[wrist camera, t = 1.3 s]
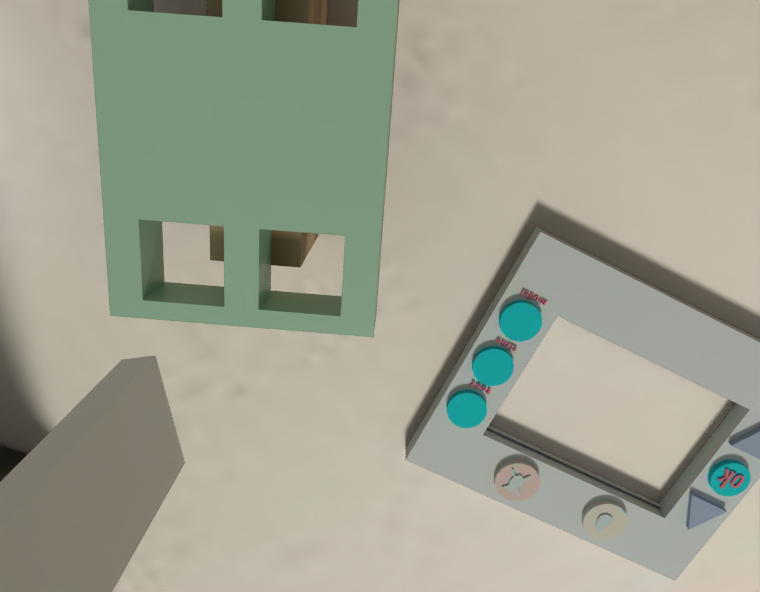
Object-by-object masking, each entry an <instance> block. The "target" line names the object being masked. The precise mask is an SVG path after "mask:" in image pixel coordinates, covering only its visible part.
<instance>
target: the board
mask: <svg viewBox="0 0 760 592" xmlns="http://www.w3.org/2000/svg"><path fill="white" fill-rule="evenodd" d="M88 1H89V15H90V30H91V44H92V59H93V73H94V88H95V102H96V117H97V131H98V146H99V160H100V175H101V189H102V204H103V218H104V233H105V247H106V262H107V276H108V291H109V305H110V316H120V317H132V318H144V319H157V320H169V321H181V322H193V323H206V324H218V325H230V326H242V327H254V328H267V329H279V330H291V331H303V332H316V333H328V334H340V335H352V336H364V337H373V336H374V328H375V321H376V311H377V298H378V284H379V271H380V257H381V244H382V230H383V217H384V203H385V190H386V176H387V163H388V150H389V136H390V123H391V109H392V96H393V82H394V69H395V55H396V42H397V29H398V15H399V2H400V0H358V12H357V27H346V26H333V25H320V24H306V23H293V22H279V21H275V4H276V0H222V17H212V16H199V15H185V14H172V13H159V12H154V6H153V0H88ZM162 221H166V222H178V223H191V224H203V225H216V226H224V287H219V286H206V285H194V284H182V283H169V282H164V261H163V236H162ZM272 230H279V231H292V232H304V233H317V234H329V235H342V236H345V247H344V265H343V283H342V296H330V295H318V294H305V293H293V292H281V291H271V237H272Z"/></svg>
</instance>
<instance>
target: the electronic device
mask: <svg viewBox="0 0 760 592" xmlns="http://www.w3.org/2000/svg"><path fill="white" fill-rule="evenodd" d="M557 316H559V317H561V318H563V319H565V320H567V321H570V322H572V323H574V324H576V325H578V326H580V327H582V328H584V329H586V330H588V331H590V332H592V333H594V334H596V335H598V336H600V337H602V338H604V339H606V340H608V341H610V342H612V343H614V344H617V345H619V346H621V347H623V348H625V349H627V350H629V351H631V352H633V353H635V354H637V355H639V356H641V357H643V358H645V359H647V360H649V361H651V362H653V363H655V364H657V365H659V366H661V367H664V368H666V369H668V370H670V371H672V372H674V373H676V374H678V375H680V376H682V377H684V378H686V379H688V380H690V381H692V382H694V383H696V384H698V385H700V386H702V387H704V388H706V389H709V390H711V391H713V392H715V393H717V394H719V395H721V396H723V397H725V398H727V399H729V400H731V401H733V402H735V403H736V404H735V405H734V407H733V408H732V409H731V411H730V412H729V413H728V414H727V416H726V417H725V418H724V420H723V421H722V422H721V424H720V425H719V426H718V428H717V429H716V430H715V431H714V433H713V434H712V435H711V437H710V438H709V439H708V441H707V442H706V443H705V444H704V446H703V447H702V448H701V450H700V451H699V452H698V454H697V455H696V456H695V458H694V459H693V460H692V461H691V463H690V464H689V465H688V467H687V468H686V469H685V471H684V472H683V473H682V474H681V476H680V477H679V478H678V480H677V481H676V482H675V484H674V485H673V486H672V487H671V489H670V490H669V491H668V493H667V494H666V495H665V497H664V498H663V499H662V501H661V502H660V503H657V502H655V501H653V500H650V499H648V498H646V497H644V496H642V495H640V494H638V493H635V492H633V491H631V490H629V489H627V488H625V487H622V486H620V485H618V484H616V483H614V482H612V481H609V480H607V479H605V478H603V477H601V476H599V475H596V474H594V473H592V472H590V471H588V470H586V469H583V468H581V467H579V466H577V465H575V464H573V463H571V462H568V461H566V460H564V459H562V458H560V457H558V456H555V455H553V454H551V453H549V452H547V451H545V450H542V449H540V448H538V447H536V446H534V445H532V444H529V443H527V442H525V441H523V440H521V439H519V438H516V437H514V436H512V435H510V434H508V433H506V432H503V431H501V430H499V429H497V428H495V427H493V426H491V425H489V424H490V423H491V421H492V419H493V418H494V416H495V415H496V413H497V411H498V410H499V408H500V407H501V405H502V404H503V402H504V400H505V399H506V397H507V396H508V394H509V392H510V391H511V389H512V388H513V386H514V384H515V383H516V381H517V380H518V378H519V377H520V375H521V373H522V372H523V370H524V369H525V367H526V365H527V364H528V362H529V361H530V359H531V358H532V356H533V354H534V353H535V351H536V350H537V348H538V346H539V345H540V343H541V342H542V340H543V338H544V337H545V335H546V334H547V332H548V331H549V329H550V327H551V326H552V324H553V323H554V321H555V319H556V318H557ZM406 460H407V461H409V462H412V463H414V464H416V465H418V466H420V467H423V468H425V469H427V470H429V471H432V472H434V473H436V474H438V475H441V476H443V477H445V478H447V479H450V480H452V481H454V482H456V483H458V484H461V485H463V486H465V487H467V488H470V489H472V490H474V491H476V492H479V493H481V494H483V495H485V496H487V497H490V498H492V499H494V500H496V501H499V502H501V503H503V504H505V505H508V506H510V507H512V508H514V509H517V510H519V511H521V512H523V513H525V514H528V515H530V516H532V517H534V518H537V519H539V520H541V521H543V522H546V523H548V524H550V525H552V526H554V527H557V528H559V529H561V530H563V531H566V532H568V533H570V534H572V535H575V536H577V537H579V538H581V539H584V540H586V541H588V542H590V543H592V544H595V545H597V546H599V547H601V548H604V549H606V550H608V551H610V552H613V553H615V554H617V555H619V556H621V557H624V558H626V559H628V560H630V561H633V562H635V563H637V564H639V565H642V566H644V567H646V568H648V569H651V570H653V571H655V572H657V573H659V574H662V575H664V576H666V577H668V578H671V579H673V580H676V579H677V578H678V577H679V575H680V574H681V573H682V572H683V570H684V569H685V568H686V567H687V566H688V564H689V563H690V562H691V561H692V560H693V558H694V557H695V556H696V555H697V553H698V552H699V551H700V550H701V549H702V547H703V546H704V545H705V544H706V543H707V541H708V540H709V539H710V538H711V537H712V535H713V534H714V533H715V532H716V530H717V529H718V528H719V527H720V526H721V524H722V523H723V522H724V521H725V520H726V518H727V517H728V516H729V515H730V513H731V512H732V511H733V510H734V509H735V507H736V506H737V505H738V504H739V503H740V501H741V500H742V499H743V498H744V496H745V495H746V494H747V493H748V492H749V490H750V489H751V488H752V487H753V486H754V484H755V483H756V482H757V481H758V479H759V478H760V339H758V338H756V337H754V336H752V335H750V334H748V333H746V332H744V331H742V330H740V329H738V328H736V327H734V326H732V325H730V324H728V323H726V322H724V321H722V320H720V319H718V318H716V317H714V316H712V315H710V314H708V313H706V312H704V311H702V310H700V309H698V308H696V307H695V306H693V305H691V304H689V303H687V302H685V301H683V300H681V299H679V298H677V297H675V296H673V295H671V294H669V293H667V292H665V291H663V290H661V289H659V288H657V287H655V286H653V285H651V284H649V283H647V282H645V281H643V280H641V279H639V278H637V277H635V276H633V275H631V274H629V273H627V272H625V271H623V270H621V269H619V268H617V267H615V266H613V265H611V264H609V263H607V262H605V261H603V260H601V259H599V258H597V257H595V256H593V255H591V254H590V253H588V252H586V251H584V250H582V249H580V248H578V247H576V246H574V245H572V244H570V243H568V242H566V241H564V240H562V239H560V238H558V237H556V236H554V235H552V234H550V233H548V232H546V231H544V230H542V229H540V228H538V227H535V229H534V230H533V232H532V234H531V236H530V237H529V239H528V241H527V242H526V244H525V246H524V247H523V249H522V251H521V253H520V254H519V256H518V258H517V259H516V261H515V263H514V265H513V266H512V268H511V270H510V271H509V273H508V275H507V277H506V278H505V280H504V282H503V283H502V285H501V287H500V288H499V290H498V292H497V294H496V295H495V297H494V299H493V300H492V302H491V304H490V306H489V307H488V309H487V311H486V312H485V314H484V316H483V318H482V319H481V321H480V323H479V324H478V326H477V328H476V329H475V331H474V333H473V335H472V336H471V338H470V340H469V341H468V343H467V345H466V347H465V348H464V350H463V352H462V353H461V355H460V357H459V359H458V360H457V362H456V364H455V365H454V367H453V369H452V371H451V372H450V374H449V376H448V377H447V379H446V381H445V382H444V384H443V386H442V388H441V389H440V391H439V393H438V394H437V396H436V398H435V400H434V401H433V403H432V405H431V406H430V408H429V410H428V412H427V413H426V415H425V417H424V418H423V420H422V422H421V423H420V425H419V427H418V429H417V430H416V432H415V434H414V435H413V437H412V439H411V441H410V442H409V444H408V446H407V447H406Z"/></svg>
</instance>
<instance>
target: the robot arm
mask: <svg viewBox="0 0 760 592" xmlns="http://www.w3.org/2000/svg"><path fill="white" fill-rule="evenodd" d="M184 463H185V461H184V458H183V454H182V451H181V447H180V443H179V440H178V436H177V432H176V429H175V425H174V422H173V418H172V414H171V411H170V407H169V403H168V400H167V396H166V393H165V389H164V385H163V382H162V378H161V374H160V371H159V367H158V364H157V360H156V356H148V357H140V358H132V359H124V360H121V361H120V362H119V363H118V364H117V365H116V366H115V367H114V368H113V369H112V370H111V371H110V372H109V373H108V374H107V375H106V376H105V377H104V378H103V379H102V380H101V381H100V382H99V383H98V384H97V385H96V386H95V387H94V388H93V389H92V390H91V391H90V392H89V393H88V394H87V395H86V396H85V397H84V398H83V399H82V400H81V401H80V402H79V403H78V404H77V405H76V406H75V407H74V408H73V409H72V410H71V412H70V413H69V414H68V415H67V416H66V417H65V418H64V419H63V420H62V421H61V422H60V423H59V424H58V425H57V426H56V427H55V428H54V429H53V430H52V431H51V432H50V433H49V434H48V435H47V436H46V437H45V438H44V439H43V440H42V441H41V442H40V443H39V444H38V445H37V446H36V447H35V448H34V449H33V450H32V451H31V452H30V453H29V454H28V455H25V454H22V453H20V452H17V451H14V450H11V449H7V448H4V447H0V592H112V591H113V589H114V587H115V585H116V584H117V582H118V580H119V578H120V577H121V575H122V573H123V571H124V570H125V568H126V566H127V564H128V562H129V561H130V559H131V557H132V555H133V554H134V552H135V550H136V548H137V547H138V545H139V543H140V541H141V539H142V538H143V536H144V534H145V532H146V531H147V529H148V527H149V525H150V524H151V522H152V520H153V518H154V516H155V515H156V513H157V511H158V509H159V508H160V506H161V504H162V502H163V500H164V499H165V497H166V495H167V493H168V492H169V490H170V488H171V486H172V485H173V483H174V481H175V479H176V477H177V476H178V474H179V472H180V470H181V469H182V467H183V465H184Z"/></svg>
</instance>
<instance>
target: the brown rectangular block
mask: <svg viewBox="0 0 760 592" xmlns="http://www.w3.org/2000/svg"><path fill="white" fill-rule="evenodd" d="M327 9H328V0H276V4H275V21H279V22H293V23H306V24H320V25H327ZM207 16H212V17H222V0H207ZM317 237H318V234H317V233H304V232H292V231H279V230H272V237H271V265H277V266H290V267H301V265H302V263H303V262H304V260H305V258H306V256H307V255H308V253H309V251H310V249H311V247H312V246H313V244H314V242H315V240H316V239H317ZM210 260H215V261H224V226H216V225H210Z"/></svg>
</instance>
